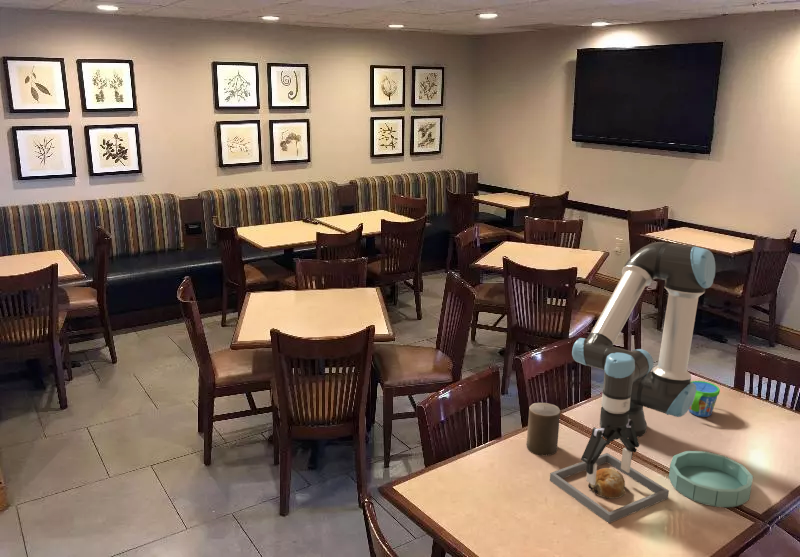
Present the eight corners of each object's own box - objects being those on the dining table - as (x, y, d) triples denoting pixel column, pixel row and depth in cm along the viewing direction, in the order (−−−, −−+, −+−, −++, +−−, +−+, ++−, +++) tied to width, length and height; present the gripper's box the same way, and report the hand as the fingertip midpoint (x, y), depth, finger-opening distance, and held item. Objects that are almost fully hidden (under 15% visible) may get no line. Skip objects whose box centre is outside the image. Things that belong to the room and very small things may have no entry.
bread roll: (619, 512, 186) (634, 490, 183) (586, 494, 186) (600, 473, 184) (615, 491, 195) (629, 471, 193) (583, 475, 196) (597, 454, 193)
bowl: (653, 477, 196) (655, 462, 194) (700, 458, 206) (702, 444, 204) (717, 516, 178) (720, 499, 177) (765, 493, 188) (768, 478, 187)
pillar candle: (544, 459, 206) (548, 415, 202) (520, 446, 213) (523, 404, 209) (563, 448, 212) (567, 406, 208) (538, 437, 219) (541, 395, 215)
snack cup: (694, 401, 244) (697, 375, 241) (723, 410, 237) (727, 384, 234) (675, 415, 234) (678, 388, 231) (706, 425, 226) (709, 398, 224)
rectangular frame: (549, 480, 194) (550, 472, 194) (606, 460, 205) (607, 452, 205) (608, 523, 175) (609, 515, 174) (667, 498, 186) (668, 490, 185)
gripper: (592, 424, 174) (585, 495, 180) (657, 404, 186) (649, 471, 191) (571, 412, 180) (566, 481, 186) (636, 394, 192) (628, 459, 198)
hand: (608, 476), depth 189 cm, fingers open, 13 cm apart
